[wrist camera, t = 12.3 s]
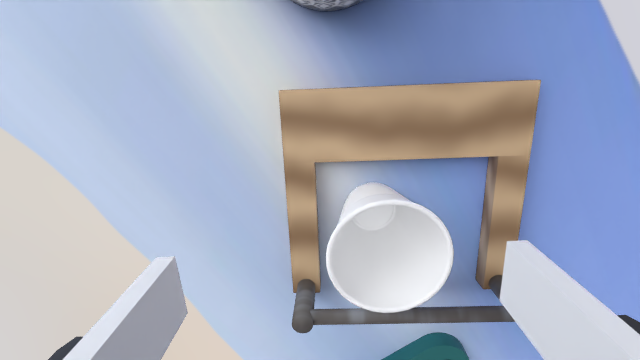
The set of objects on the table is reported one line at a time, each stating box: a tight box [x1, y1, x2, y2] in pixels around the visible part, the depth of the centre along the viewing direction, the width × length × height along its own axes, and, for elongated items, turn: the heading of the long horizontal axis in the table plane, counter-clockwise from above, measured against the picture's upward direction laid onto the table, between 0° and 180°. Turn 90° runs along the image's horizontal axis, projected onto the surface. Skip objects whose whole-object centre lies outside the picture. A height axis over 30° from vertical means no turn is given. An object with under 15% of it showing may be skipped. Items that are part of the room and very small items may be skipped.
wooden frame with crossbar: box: [279, 80, 541, 333], centre depth 32 cm, size 22×24×8 cm
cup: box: [326, 182, 454, 313], centre depth 31 cm, size 10×10×11 cm
